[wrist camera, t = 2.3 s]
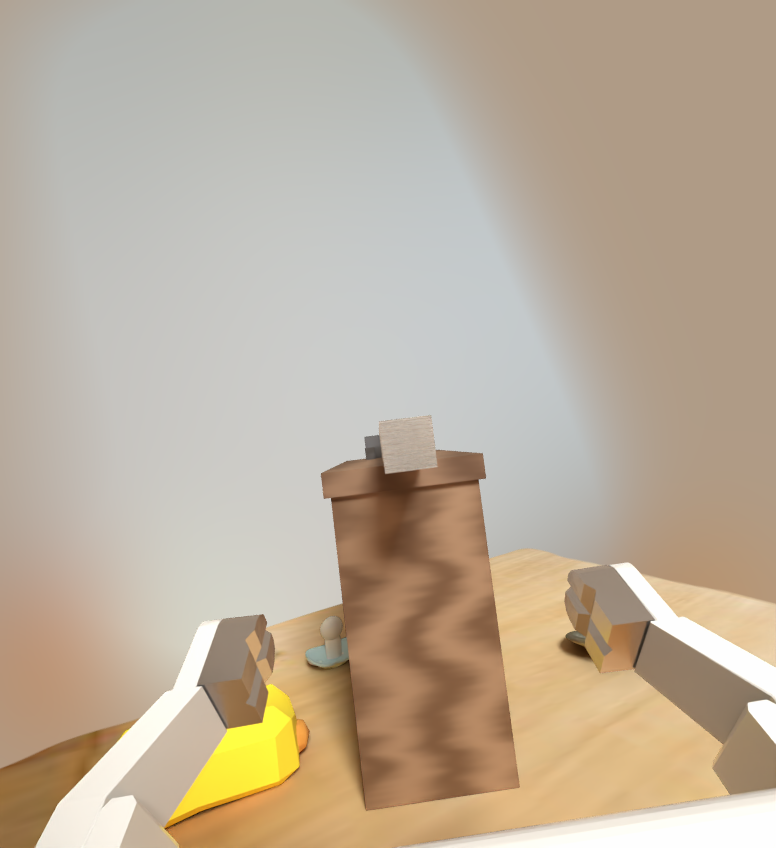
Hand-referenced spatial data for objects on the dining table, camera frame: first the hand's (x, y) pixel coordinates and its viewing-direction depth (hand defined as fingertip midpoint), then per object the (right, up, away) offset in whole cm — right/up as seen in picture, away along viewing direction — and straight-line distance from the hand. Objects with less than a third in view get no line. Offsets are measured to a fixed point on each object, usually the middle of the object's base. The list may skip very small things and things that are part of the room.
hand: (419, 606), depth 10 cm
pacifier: (-8, -27, +40) cm, 49 cm away
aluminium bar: (0, +2, +24) cm, 24 cm away
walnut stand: (+3, -25, +30) cm, 39 cm away
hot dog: (-16, -27, +22) cm, 39 cm away
